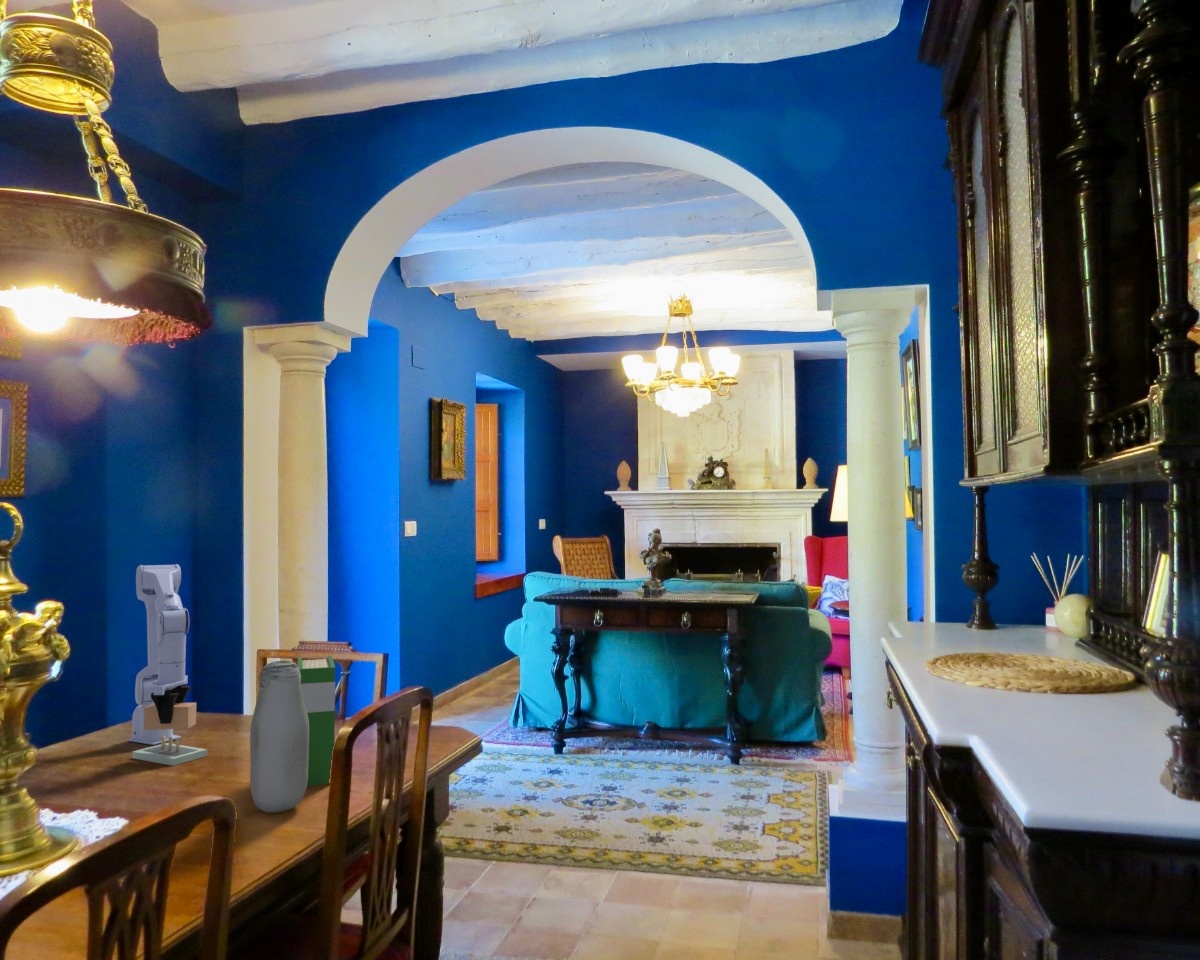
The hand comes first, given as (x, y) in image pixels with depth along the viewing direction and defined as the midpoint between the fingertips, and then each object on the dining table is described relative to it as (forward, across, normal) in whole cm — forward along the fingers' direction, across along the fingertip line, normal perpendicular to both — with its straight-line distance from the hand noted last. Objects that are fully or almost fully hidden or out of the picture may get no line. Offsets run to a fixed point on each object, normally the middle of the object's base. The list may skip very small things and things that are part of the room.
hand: (170, 720), depth 199 cm
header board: (+8, 0, 0) cm, 8 cm away
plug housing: (+1, 0, 0) cm, 1 cm away
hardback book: (+9, +17, +37) cm, 41 cm away
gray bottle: (+9, +41, +36) cm, 55 cm away
